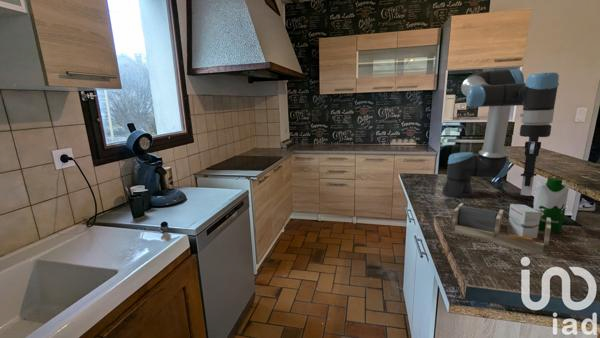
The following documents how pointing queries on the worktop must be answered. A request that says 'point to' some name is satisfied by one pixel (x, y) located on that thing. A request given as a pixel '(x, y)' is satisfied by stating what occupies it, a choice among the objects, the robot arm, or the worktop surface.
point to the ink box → (523, 221)
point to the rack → (496, 229)
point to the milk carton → (551, 202)
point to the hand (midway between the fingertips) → (525, 194)
